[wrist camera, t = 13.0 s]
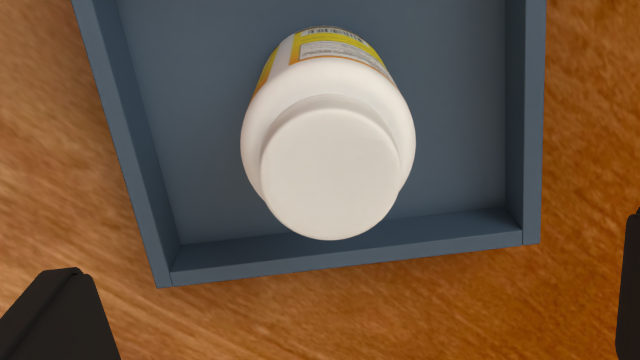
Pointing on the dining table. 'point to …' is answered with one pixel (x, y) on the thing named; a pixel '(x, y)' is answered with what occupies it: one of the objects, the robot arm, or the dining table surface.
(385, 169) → the supplement bottle
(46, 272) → the robot arm
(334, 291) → the dining table surface
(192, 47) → the tray
